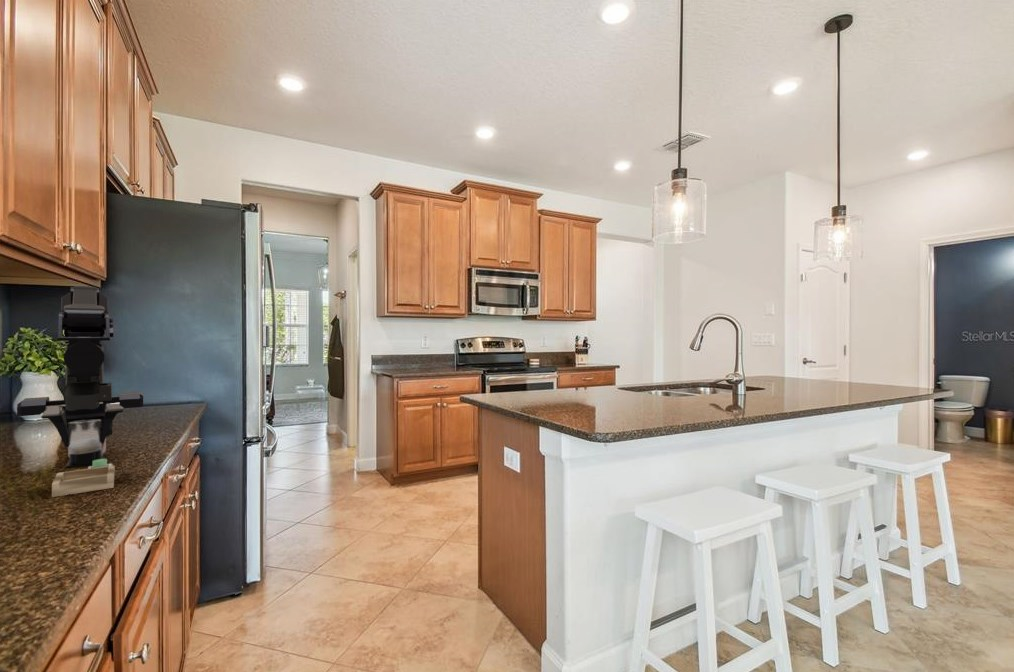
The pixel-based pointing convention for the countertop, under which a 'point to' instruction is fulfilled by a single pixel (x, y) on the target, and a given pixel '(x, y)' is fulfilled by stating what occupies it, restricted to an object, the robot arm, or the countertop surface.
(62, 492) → the pallet
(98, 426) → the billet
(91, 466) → the button housing
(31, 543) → the countertop surface
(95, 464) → the button
